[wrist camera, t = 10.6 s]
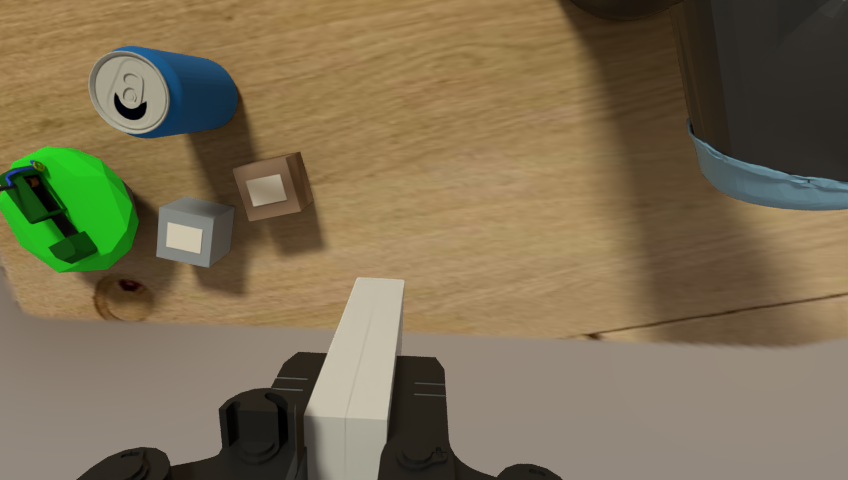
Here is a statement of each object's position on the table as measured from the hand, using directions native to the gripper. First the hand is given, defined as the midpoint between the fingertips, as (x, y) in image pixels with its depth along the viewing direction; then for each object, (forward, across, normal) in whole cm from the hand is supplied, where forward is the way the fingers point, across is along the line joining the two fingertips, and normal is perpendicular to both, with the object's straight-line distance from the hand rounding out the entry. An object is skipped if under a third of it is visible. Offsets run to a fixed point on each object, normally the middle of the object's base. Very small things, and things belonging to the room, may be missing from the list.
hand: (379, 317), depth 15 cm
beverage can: (+33, -20, +6) cm, 39 cm away
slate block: (+33, -21, -7) cm, 39 cm away
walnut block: (+33, -13, -2) cm, 35 cm away
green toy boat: (+33, -32, -5) cm, 46 cm away
